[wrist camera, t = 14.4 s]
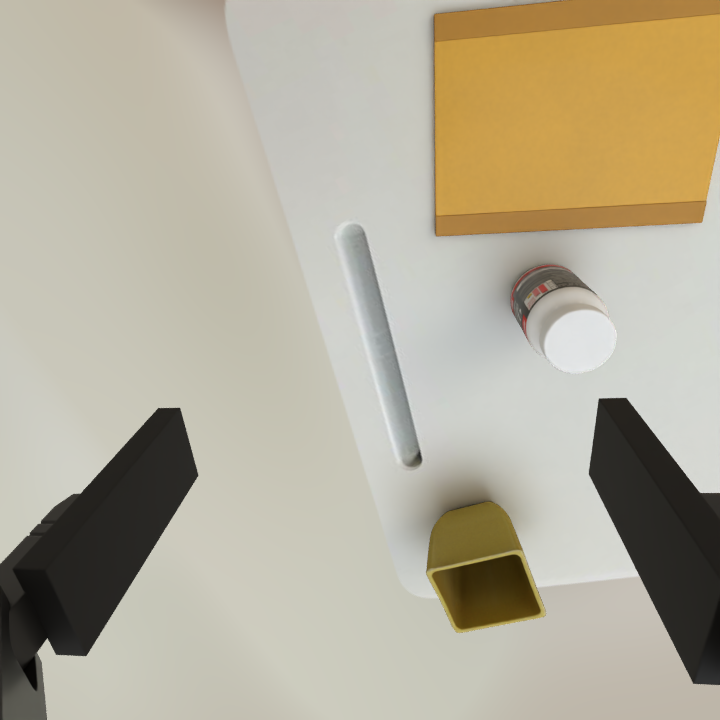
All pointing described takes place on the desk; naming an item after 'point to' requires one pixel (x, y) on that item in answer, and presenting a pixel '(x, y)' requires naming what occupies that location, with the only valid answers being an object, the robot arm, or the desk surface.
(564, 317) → the pill bottle
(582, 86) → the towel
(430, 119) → the desk surface
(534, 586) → the flower pot
